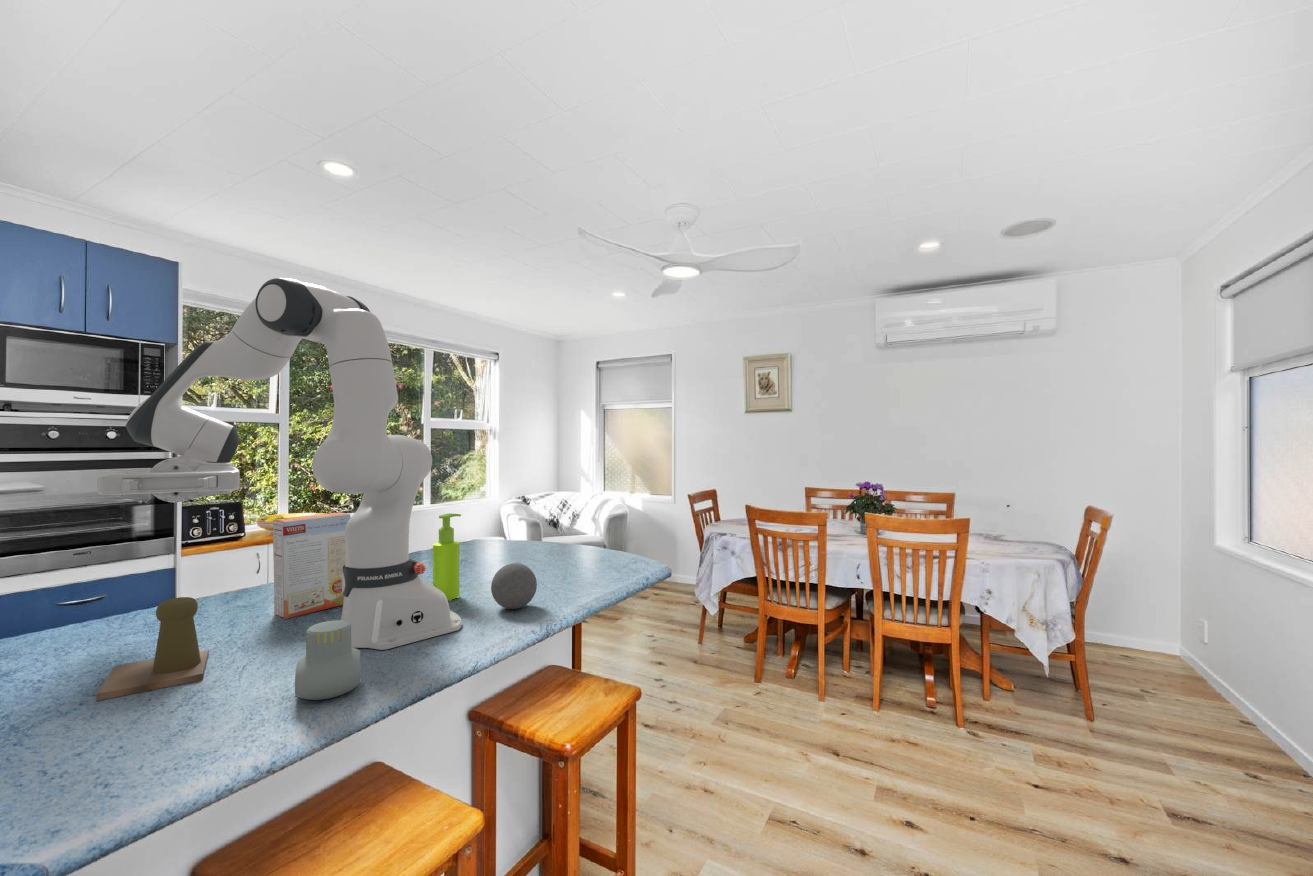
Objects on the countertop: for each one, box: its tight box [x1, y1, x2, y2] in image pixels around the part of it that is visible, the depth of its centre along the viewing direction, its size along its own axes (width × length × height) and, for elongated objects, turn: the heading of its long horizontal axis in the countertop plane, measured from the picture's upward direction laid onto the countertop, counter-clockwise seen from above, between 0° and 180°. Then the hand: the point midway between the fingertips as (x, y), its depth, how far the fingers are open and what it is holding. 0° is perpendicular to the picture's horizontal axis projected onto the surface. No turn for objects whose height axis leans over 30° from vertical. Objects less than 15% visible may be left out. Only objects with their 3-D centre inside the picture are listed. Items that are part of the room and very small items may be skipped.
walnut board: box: [96, 649, 210, 701], centre depth 89 cm, size 12×12×1 cm
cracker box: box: [272, 511, 351, 620], centre depth 124 cm, size 14×6×21 cm, turn 144°
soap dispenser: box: [432, 513, 462, 601], centre depth 133 cm, size 6×7×20 cm
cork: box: [152, 596, 201, 674], centre depth 91 cm, size 6×6×11 cm
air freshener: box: [294, 619, 362, 701], centre depth 84 cm, size 11×8×10 cm
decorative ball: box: [490, 562, 538, 610], centre depth 125 cm, size 10×10×10 cm
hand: (168, 484), depth 99 cm, fingers open, 8 cm apart
